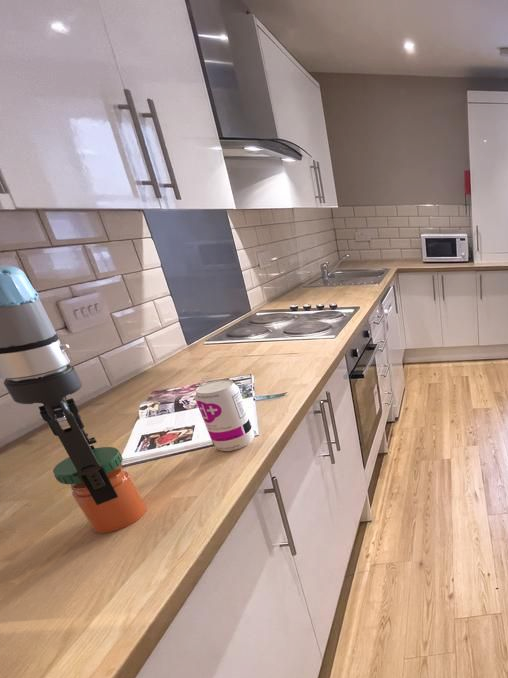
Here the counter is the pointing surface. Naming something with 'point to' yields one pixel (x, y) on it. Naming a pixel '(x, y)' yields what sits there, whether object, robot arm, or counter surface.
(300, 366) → the counter surface
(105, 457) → the honey lid
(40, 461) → the counter surface
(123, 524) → the honey jar
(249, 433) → the supplement can
